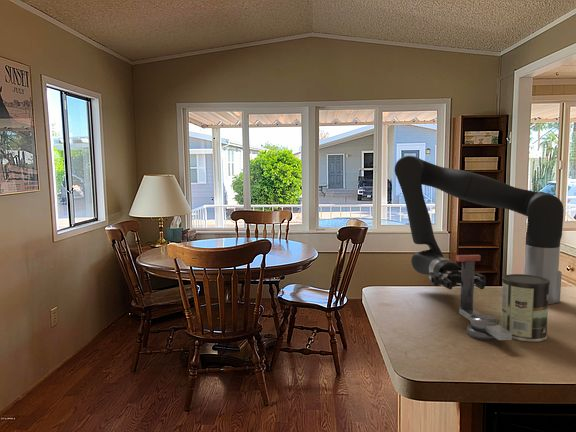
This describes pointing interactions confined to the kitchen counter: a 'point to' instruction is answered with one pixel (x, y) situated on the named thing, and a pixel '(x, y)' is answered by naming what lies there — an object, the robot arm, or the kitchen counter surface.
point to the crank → (466, 302)
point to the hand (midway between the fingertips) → (466, 285)
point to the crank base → (480, 334)
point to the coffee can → (525, 306)
